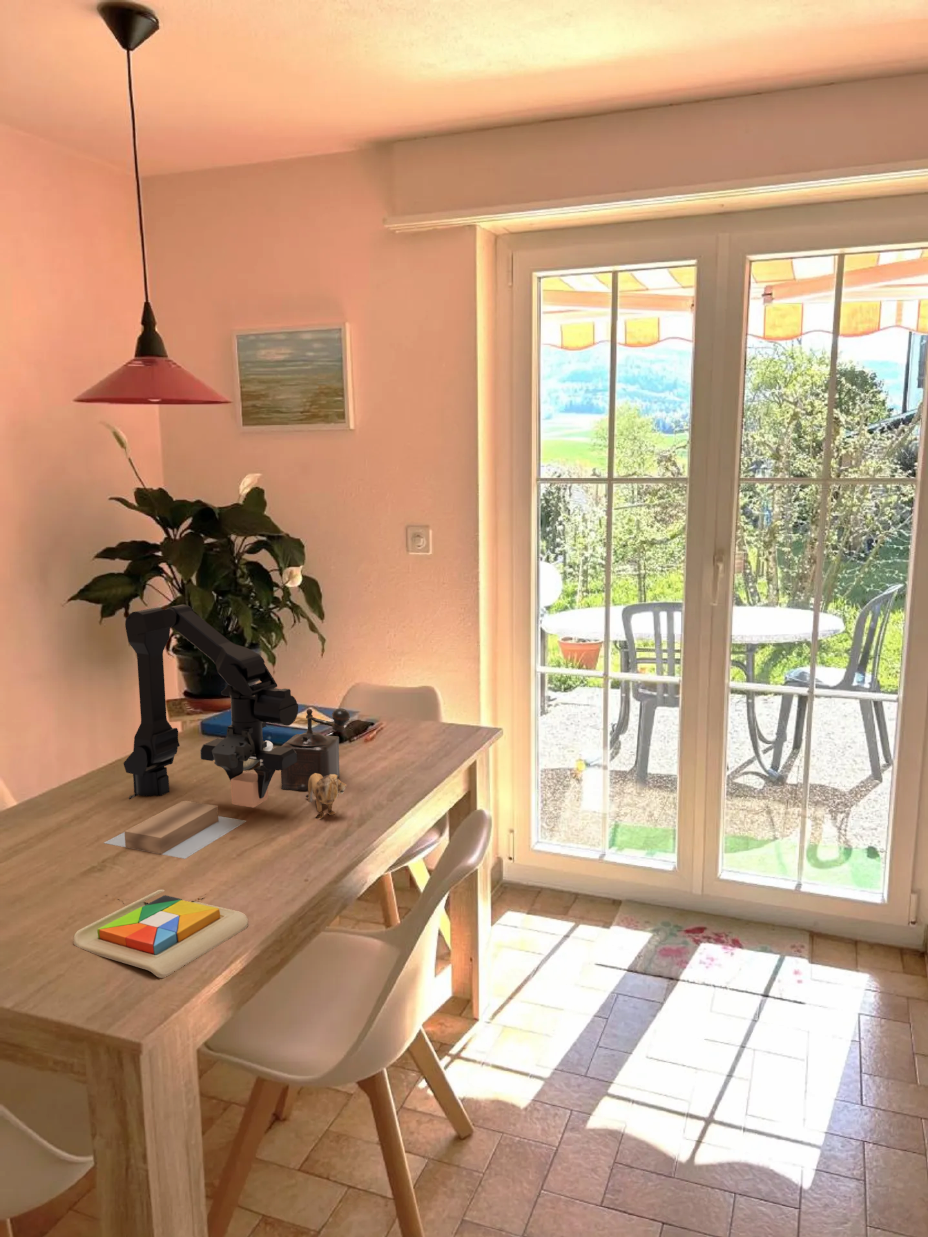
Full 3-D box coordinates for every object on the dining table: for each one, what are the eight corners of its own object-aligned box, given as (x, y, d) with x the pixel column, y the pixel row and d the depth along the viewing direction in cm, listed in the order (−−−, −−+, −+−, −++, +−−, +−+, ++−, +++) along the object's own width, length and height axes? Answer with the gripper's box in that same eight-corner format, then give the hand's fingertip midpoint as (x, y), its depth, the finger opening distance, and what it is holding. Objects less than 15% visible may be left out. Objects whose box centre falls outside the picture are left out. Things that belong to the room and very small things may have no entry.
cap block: (231, 804, 173) (230, 779, 172) (247, 795, 178) (246, 771, 177) (253, 807, 171) (252, 782, 171) (268, 798, 176) (267, 774, 175)
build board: (104, 849, 161) (103, 842, 161) (170, 813, 177) (170, 807, 177) (185, 865, 154) (185, 858, 154) (247, 826, 171) (246, 820, 171)
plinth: (125, 847, 159) (124, 831, 158) (184, 815, 174) (183, 800, 173) (161, 854, 156) (160, 838, 156) (218, 820, 171) (217, 806, 170)
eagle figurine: (247, 751, 213) (220, 754, 205) (261, 728, 211) (235, 731, 203) (266, 772, 210) (240, 777, 202) (281, 749, 208) (256, 753, 200)
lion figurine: (350, 818, 175) (349, 774, 173) (325, 825, 172) (324, 780, 170) (317, 796, 187) (315, 755, 185) (293, 802, 184) (292, 760, 182)
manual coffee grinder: (278, 790, 190) (275, 708, 187) (296, 773, 201) (293, 695, 198) (348, 794, 188) (346, 711, 185) (363, 777, 198) (361, 698, 195)
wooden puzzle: (165, 898, 144) (164, 877, 143) (252, 927, 134) (251, 906, 134) (70, 947, 129) (68, 924, 129) (159, 984, 120) (158, 960, 119)
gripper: (179, 724, 168) (184, 803, 171) (263, 735, 161) (267, 817, 164) (216, 710, 178) (220, 784, 181) (297, 719, 171) (299, 797, 174)
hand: (250, 796), depth 174 cm, fingers closed on cap block, 5 cm apart
